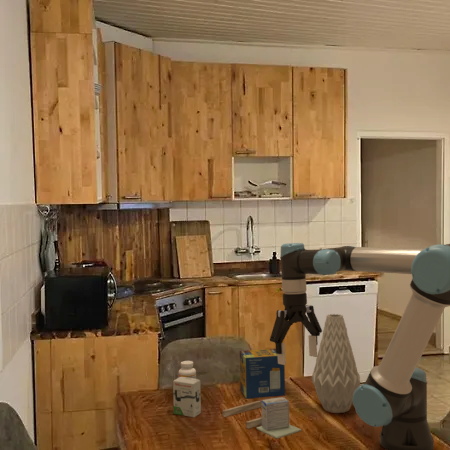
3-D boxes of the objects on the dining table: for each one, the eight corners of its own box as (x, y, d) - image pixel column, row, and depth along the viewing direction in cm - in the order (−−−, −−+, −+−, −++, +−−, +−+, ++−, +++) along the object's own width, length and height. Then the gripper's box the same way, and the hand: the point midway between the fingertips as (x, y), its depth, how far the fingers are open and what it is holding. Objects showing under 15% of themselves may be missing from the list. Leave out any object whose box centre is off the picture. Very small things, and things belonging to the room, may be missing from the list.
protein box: (239, 390, 226) (239, 350, 226) (278, 387, 229) (277, 348, 228) (245, 399, 216) (244, 357, 215) (285, 395, 218) (285, 354, 218)
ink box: (172, 414, 202) (172, 380, 201) (180, 409, 206) (179, 376, 206) (194, 417, 198) (193, 383, 197) (201, 413, 202) (200, 379, 202)
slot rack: (285, 417, 196) (285, 411, 196) (248, 428, 187) (248, 422, 187) (259, 406, 208) (259, 400, 208) (222, 416, 198) (222, 410, 198)
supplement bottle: (176, 394, 222) (175, 361, 222) (192, 392, 225) (191, 359, 225) (182, 399, 216) (181, 365, 216) (199, 397, 219) (198, 363, 219)
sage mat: (301, 430, 184) (301, 429, 184) (276, 438, 178) (276, 437, 178) (280, 421, 192) (280, 420, 192) (256, 429, 186) (256, 427, 186)
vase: (308, 415, 198) (306, 319, 197) (316, 399, 213) (314, 310, 212) (358, 419, 192) (357, 320, 191) (362, 403, 208) (361, 311, 207)
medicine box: (283, 422, 190) (283, 396, 190) (289, 427, 186) (289, 400, 185) (261, 426, 187) (260, 399, 187) (267, 431, 183) (266, 404, 183)
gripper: (314, 287, 193) (317, 351, 193) (256, 296, 178) (259, 365, 178) (330, 288, 187) (334, 354, 187) (272, 297, 172) (276, 369, 172)
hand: (297, 360), depth 183 cm, fingers open, 13 cm apart
